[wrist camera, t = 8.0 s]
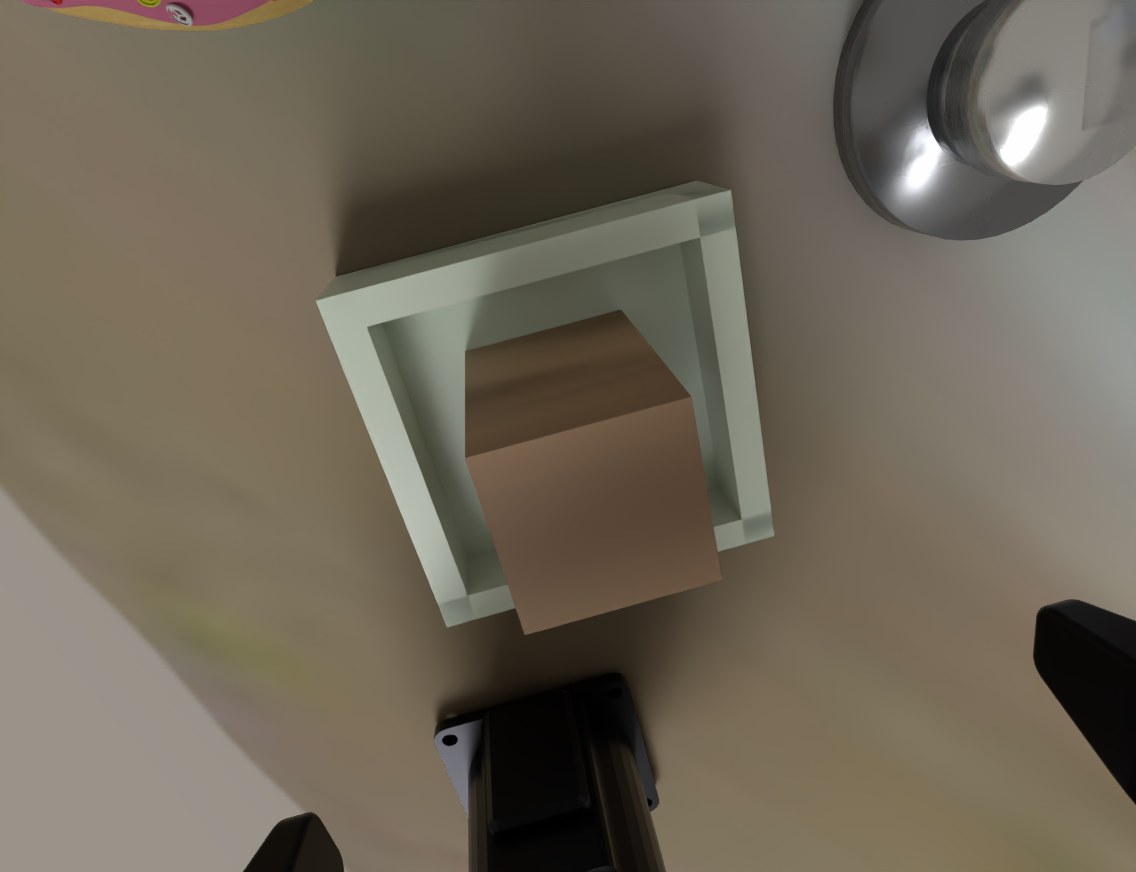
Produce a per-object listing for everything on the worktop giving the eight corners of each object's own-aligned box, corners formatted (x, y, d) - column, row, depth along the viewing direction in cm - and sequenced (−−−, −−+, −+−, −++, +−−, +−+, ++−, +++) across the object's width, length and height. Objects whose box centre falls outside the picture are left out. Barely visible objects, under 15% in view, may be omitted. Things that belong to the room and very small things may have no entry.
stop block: (649, 449, 19) (722, 580, 14) (507, 487, 19) (525, 635, 14) (620, 309, 17) (691, 396, 12) (464, 351, 17) (465, 458, 12)
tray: (742, 492, 21) (774, 535, 19) (448, 573, 21) (446, 627, 18) (696, 180, 17) (730, 190, 15) (334, 277, 17) (315, 300, 15)
